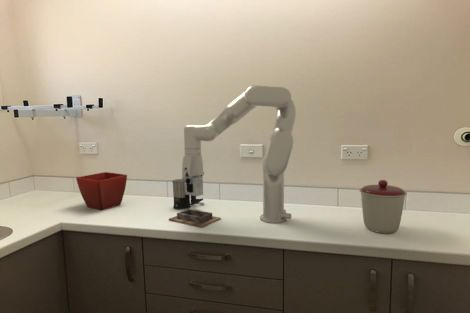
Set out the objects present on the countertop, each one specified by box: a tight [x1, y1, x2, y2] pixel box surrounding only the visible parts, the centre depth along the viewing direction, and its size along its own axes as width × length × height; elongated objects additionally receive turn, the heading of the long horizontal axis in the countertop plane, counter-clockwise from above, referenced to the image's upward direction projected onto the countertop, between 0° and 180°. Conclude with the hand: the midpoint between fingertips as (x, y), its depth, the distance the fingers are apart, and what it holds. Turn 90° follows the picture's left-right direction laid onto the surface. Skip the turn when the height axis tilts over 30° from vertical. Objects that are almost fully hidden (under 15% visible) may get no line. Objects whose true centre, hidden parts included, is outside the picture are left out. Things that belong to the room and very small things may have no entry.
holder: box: [168, 208, 222, 229], centre depth 158 cm, size 20×14×3 cm
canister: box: [359, 179, 408, 234], centre depth 141 cm, size 18×18×21 cm
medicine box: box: [184, 176, 204, 197], centre depth 157 cm, size 8×4×9 cm, turn 53°
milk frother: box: [171, 178, 204, 210], centre depth 182 cm, size 14×16×15 cm
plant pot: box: [75, 171, 128, 211], centre depth 184 cm, size 19×19×17 cm
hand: (193, 190), depth 157 cm, fingers closed on medicine box, 4 cm apart
